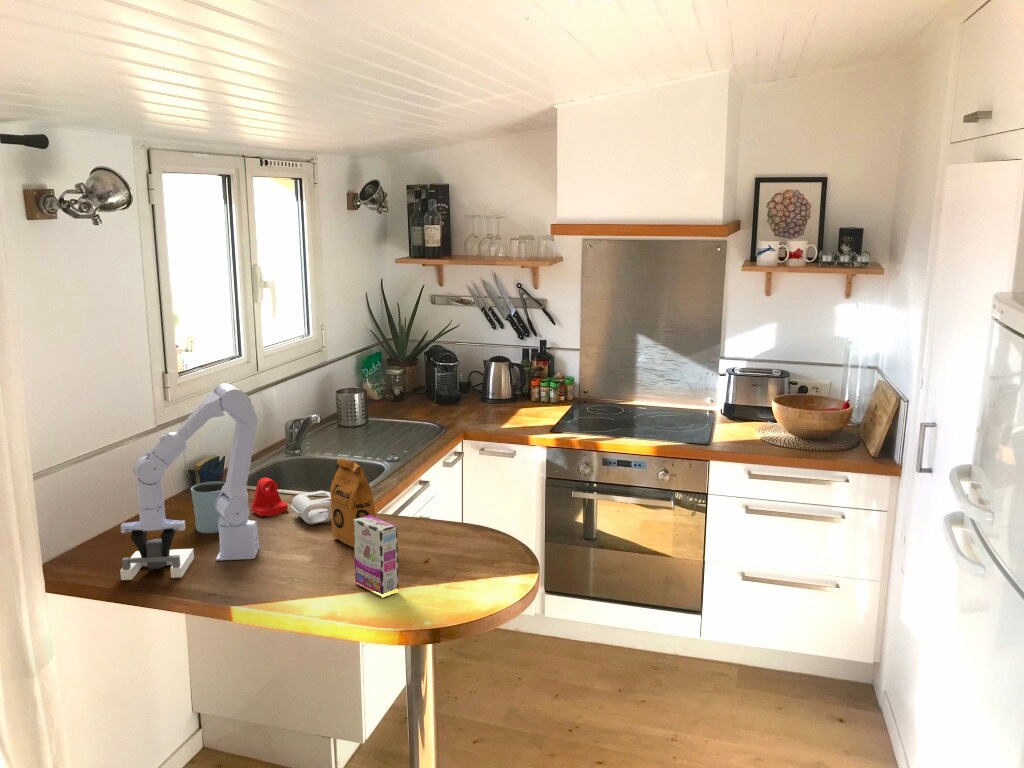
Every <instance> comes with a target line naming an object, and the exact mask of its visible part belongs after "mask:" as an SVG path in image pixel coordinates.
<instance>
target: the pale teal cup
mask: <svg viewBox="0 0 1024 768" xmlns="http://www.w3.org/2000/svg"><path fill="white" fill-rule="evenodd" d="M225 483H226V481H225V482H223V481H206V482H200V483H197V484H195V485H193V486H191V488H190V492H191V493H190V494H191V499H192V500H191V501H192V504H193V513H194V517H195V528H196V531H197V532H198V533H201V534H215V533H219V527H218V520H219V518H220V514H219V513H218V512H217V510H216V508H215V502H216V500H217V498H218V497H219V495H220V493H221V489H222V487H223V485H224V484H225Z"/></svg>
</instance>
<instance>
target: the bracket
mask: <svg viewBox="0 0 1024 768" xmlns="http://www.w3.org/2000/svg"><path fill="white" fill-rule="evenodd" d="M278 489H279V485H278V483H277V481H275V480H273V479H271V478H269V477H262V478H260V479H259V480H258V482H257V484H256V488H255V491H254V495H253V500H252V502H251V512H253V513H254V514H256V515H258V516H259V517H264V516H267V517H268V518H270V517H274V516H278V515H282V514H283V512H286V511H288V509H289V508H288V505H289V504H288V503H287V502H284V501H283V500H282V499H281V497H280V494H279V492H278Z"/></svg>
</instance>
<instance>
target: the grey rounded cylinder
mask: <svg viewBox="0 0 1024 768" xmlns="http://www.w3.org/2000/svg"><path fill="white" fill-rule="evenodd" d="M145 545H146V557H163V544H162V539H161V538H153V539H150V540H147V542H146V543H145ZM166 564H167V563H166V562H147V566H146V568H148V569H151V570H152V569H153V570H154V569H161V568H164V567H165V566H167V565H166Z"/></svg>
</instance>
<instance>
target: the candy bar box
mask: <svg viewBox="0 0 1024 768" xmlns="http://www.w3.org/2000/svg"><path fill="white" fill-rule="evenodd" d="M353 549H354V550H353V551H354V575H355V577H354V578H355V583H356V582H358V583H360V584H362V585H364V586H365V587H368V588H370V589H372V590H374V591H376V592H379V593H381V594H384V593H387V592H389V591H392V590H394V589H397V588H398V589H399V558H398V556H399V551H398V549H399V548H398V526H397V525H396V524H393V523H391V522H388V521H386V520H383V519H381V518H378V517H377V516H376V517H373V516H371V515H368V516H364V517H360V518H357V519H354V548H353Z"/></svg>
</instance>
